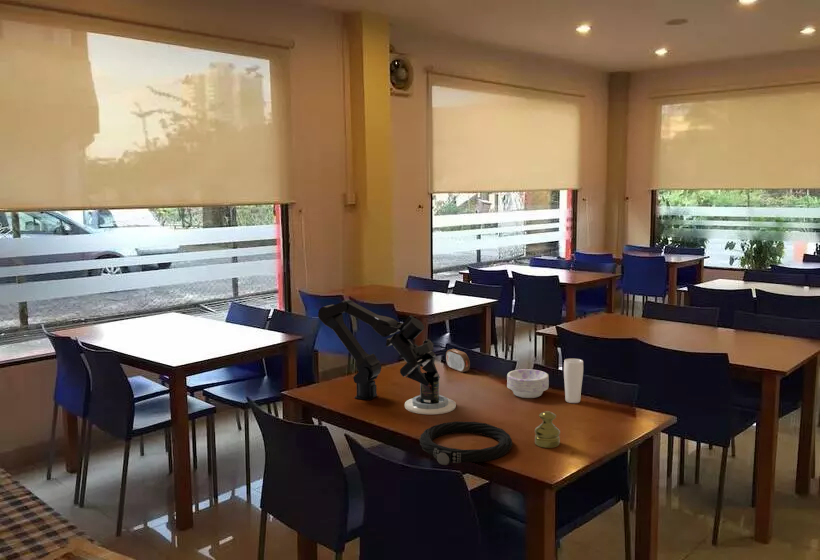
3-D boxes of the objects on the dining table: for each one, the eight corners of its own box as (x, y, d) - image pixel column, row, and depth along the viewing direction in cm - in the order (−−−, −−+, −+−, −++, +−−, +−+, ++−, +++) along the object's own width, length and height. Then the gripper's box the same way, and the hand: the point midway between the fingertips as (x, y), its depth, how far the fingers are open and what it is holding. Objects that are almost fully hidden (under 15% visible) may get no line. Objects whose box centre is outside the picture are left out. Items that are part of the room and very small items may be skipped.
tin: (470, 373, 287) (470, 353, 285) (464, 374, 285) (464, 354, 284) (450, 365, 299) (450, 346, 298) (444, 366, 298) (444, 347, 297)
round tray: (396, 410, 238) (396, 403, 238) (416, 396, 255) (416, 389, 254) (444, 417, 231) (444, 410, 231) (462, 402, 247) (462, 395, 247)
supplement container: (440, 401, 245) (440, 372, 244) (437, 407, 239) (437, 377, 237) (422, 400, 247) (422, 371, 245) (418, 405, 240) (418, 376, 239)
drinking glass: (562, 403, 245) (563, 362, 243) (563, 398, 251) (564, 357, 249) (581, 405, 243) (582, 363, 241) (582, 399, 249) (584, 359, 247)
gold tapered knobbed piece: (530, 445, 205) (531, 412, 204) (540, 437, 211) (541, 406, 210) (554, 450, 201) (554, 417, 200) (563, 442, 207) (564, 410, 206)
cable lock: (524, 427, 210) (489, 461, 184) (524, 439, 211) (489, 475, 185) (442, 414, 223) (398, 444, 197) (442, 425, 224) (398, 457, 197)
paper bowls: (506, 399, 250) (506, 378, 249) (507, 388, 265) (507, 368, 264) (548, 401, 247) (549, 380, 246) (548, 389, 262) (548, 369, 261)
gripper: (407, 338, 233) (437, 374, 229) (430, 328, 249) (458, 361, 246) (387, 359, 237) (416, 394, 234) (411, 348, 254) (438, 380, 251)
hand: (433, 381), depth 241 cm, fingers open, 9 cm apart
